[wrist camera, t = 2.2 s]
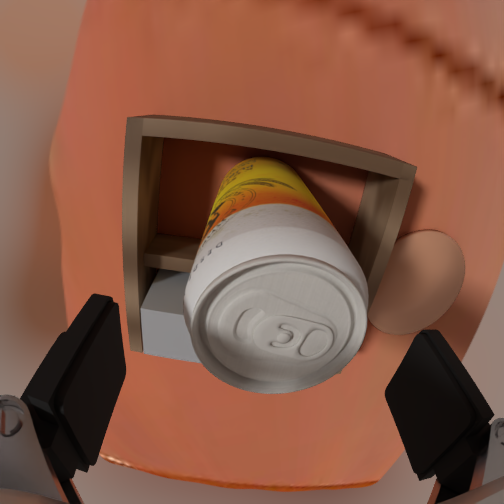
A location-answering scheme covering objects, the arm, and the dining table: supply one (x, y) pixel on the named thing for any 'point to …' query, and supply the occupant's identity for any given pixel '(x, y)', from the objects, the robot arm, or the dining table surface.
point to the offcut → (167, 318)
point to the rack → (159, 126)
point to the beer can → (273, 285)
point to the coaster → (418, 282)
